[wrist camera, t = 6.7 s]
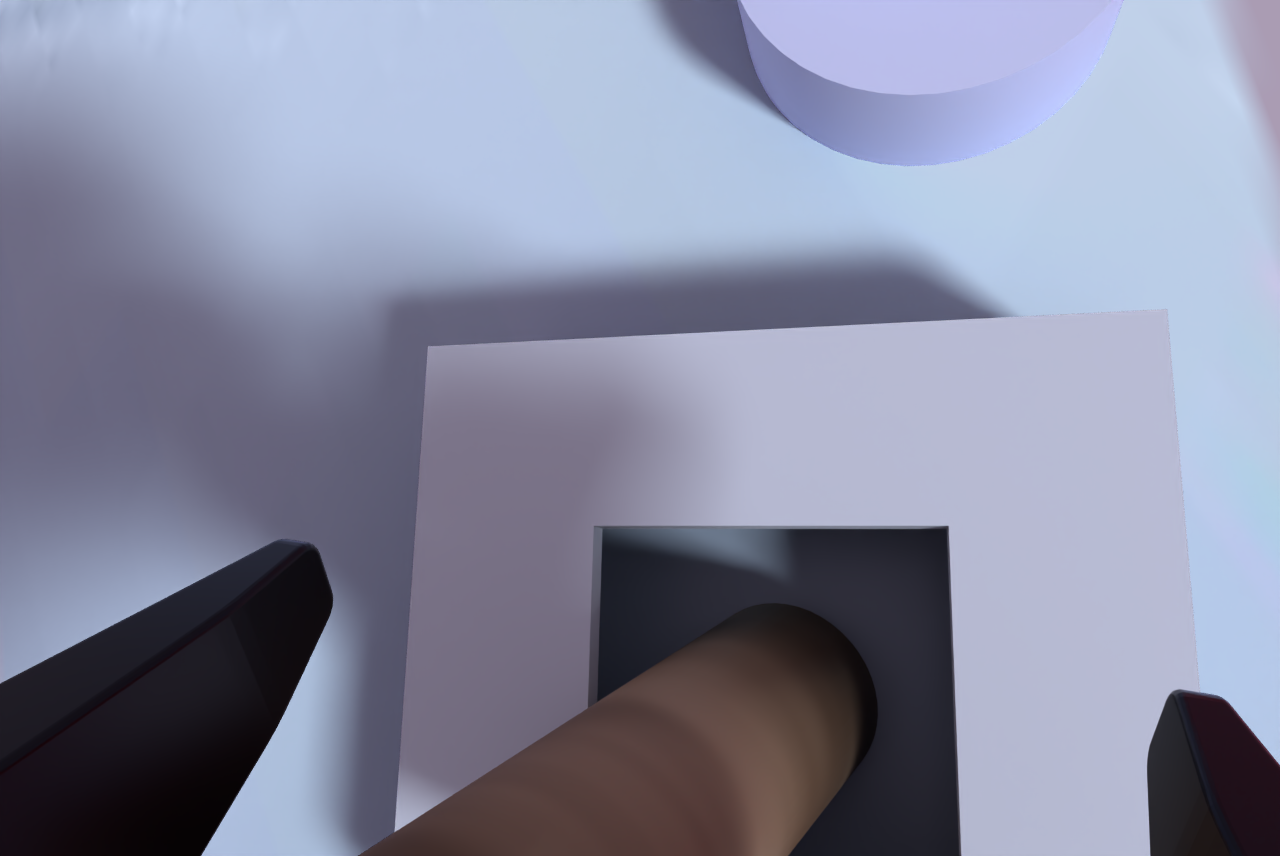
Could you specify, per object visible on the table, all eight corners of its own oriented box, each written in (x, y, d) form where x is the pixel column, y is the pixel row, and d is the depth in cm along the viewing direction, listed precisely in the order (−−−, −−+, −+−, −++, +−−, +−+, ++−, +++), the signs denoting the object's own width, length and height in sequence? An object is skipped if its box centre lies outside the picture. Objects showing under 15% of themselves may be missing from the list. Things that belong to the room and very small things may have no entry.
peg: (831, 823, 20) (439, 1351, 10) (678, 717, 22) (208, 1076, 12) (909, 669, 19) (552, 1093, 9) (740, 568, 21) (276, 826, 11)
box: (1155, 1077, 19) (1246, 1232, 14) (486, 992, 22) (376, 1092, 17) (1105, 378, 21) (1167, 309, 17) (515, 399, 25) (427, 346, 20)
